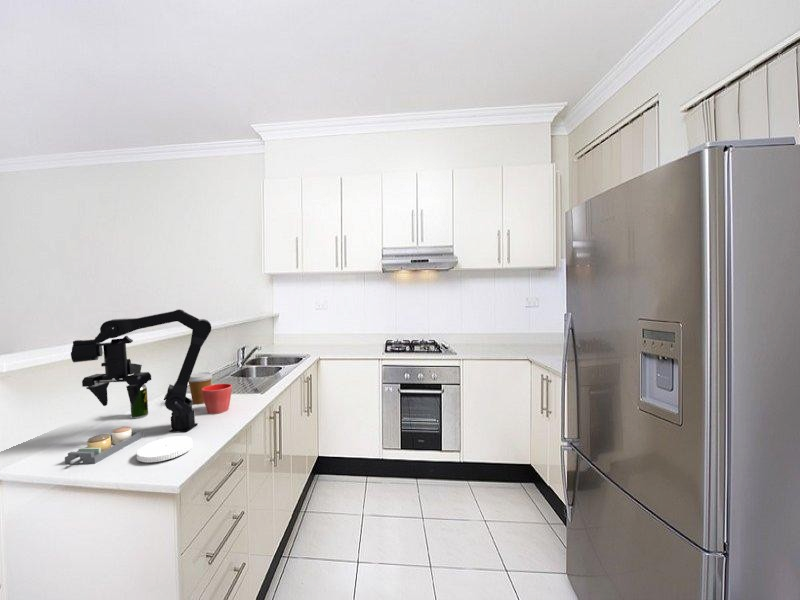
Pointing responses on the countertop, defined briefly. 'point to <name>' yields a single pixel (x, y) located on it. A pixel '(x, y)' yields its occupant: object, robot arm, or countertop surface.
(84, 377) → the robot arm
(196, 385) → the disposable coffee cup
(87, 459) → the lane
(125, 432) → the cream jar
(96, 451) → the pusher
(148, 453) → the plastic lid
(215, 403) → the flower pot
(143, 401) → the beer can
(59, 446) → the countertop surface
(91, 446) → the amber jar
